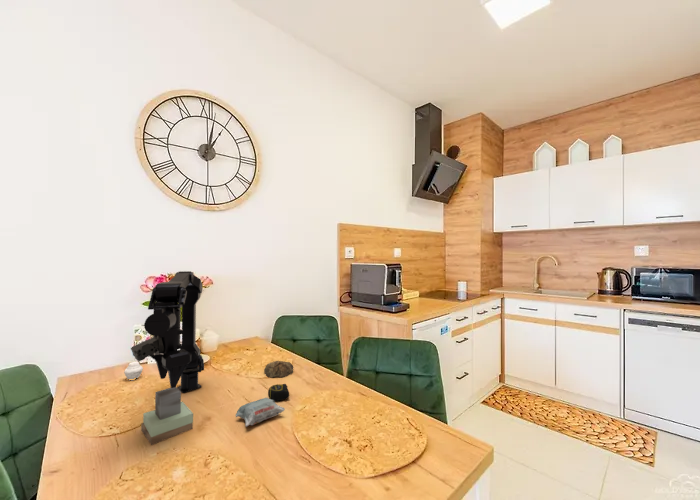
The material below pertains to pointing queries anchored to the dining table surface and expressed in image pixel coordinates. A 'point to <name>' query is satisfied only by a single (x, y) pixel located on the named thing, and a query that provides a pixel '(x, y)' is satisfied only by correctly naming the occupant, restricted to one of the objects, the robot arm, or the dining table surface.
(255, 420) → the packaged food
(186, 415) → the top block
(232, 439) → the dining table surface
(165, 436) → the bottom block
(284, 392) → the tape measure
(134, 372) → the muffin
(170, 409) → the grey block
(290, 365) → the bread roll
